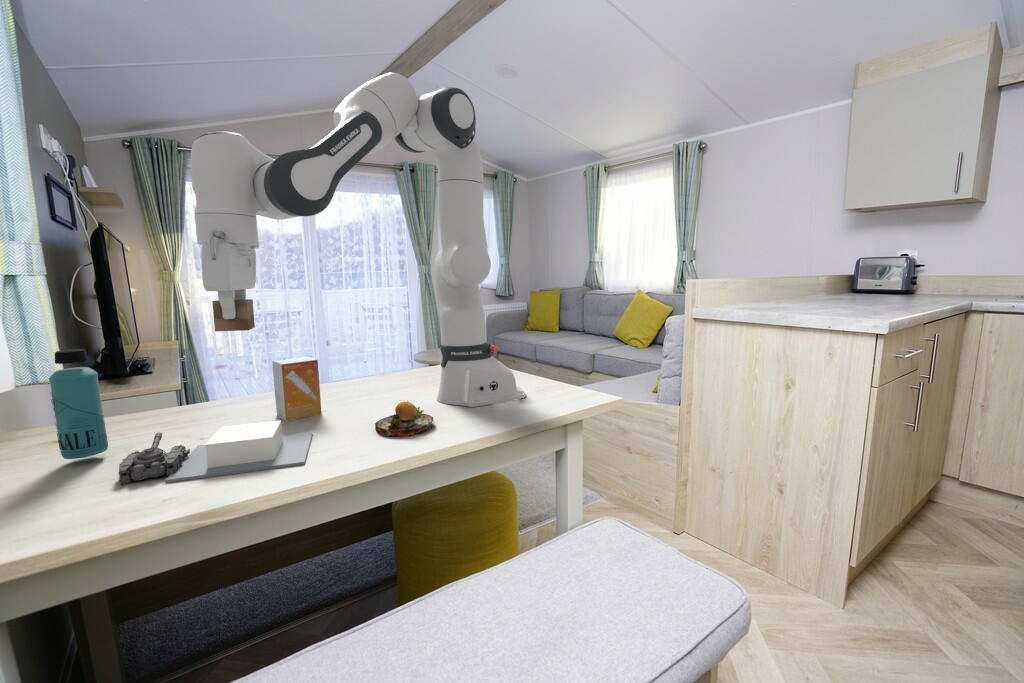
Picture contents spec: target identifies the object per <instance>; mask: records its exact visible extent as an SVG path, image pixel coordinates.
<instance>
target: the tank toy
mask: <svg viewBox="0 0 1024 683" xmlns="http://www.w3.org/2000/svg"><path fill="white" fill-rule="evenodd" d="M162 438H163V433H162V432H161V431H159V432H157V433H155V434H154V438H153V442H152V443H151V447H148V448H146V449H144V450H142V451H139V450H135V451H134V452H131V453H128V454H127V456H126V457H125V458H122V461H121V462H120V463H118V464H119V466H118V475H119V477H118V479H119V481H118V482H119V485H120V486H123V485H128V484H131V483H132V481H131V480H133V481H142V480H146V479H149V478H150V479H151V478H154V479H155V478H160V476H161V477H162V476H165V474H166V477H167V478H168V477H169V476H170V475H171V474H172V473H176V472H177V471H176V470H179V467H182V462H183V461H184V460H185V459H186V457H188V455H189V454H190V453H191V452H190V451H191V448H187V449H186V446H184V445H183V444H180V445H174V446H173V447H171V449H170V451H168V452H166V451H165V450H164V449H162V448H159V445H160V444H161V443H160V442H161V440H162Z"/></svg>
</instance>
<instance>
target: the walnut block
mask: <svg viewBox="0 0 1024 683" xmlns="http://www.w3.org/2000/svg"><path fill="white" fill-rule="evenodd" d="M211 303H212V313H213V326H214V332H233V331H234V332H235V331H236V332H237V331H238V332H239V331H240V332H241V331H250V330H252V329H255V328H256V327H255V325H256V322H255V315H254V312H255V310H254V300H253V298H251V299H250V298H246V299H236V300H235V308H236V309H237V317H236V318H234V319H224V318H223V314H222V307H221V305H220V302H219V299H217V300H212V301H211Z"/></svg>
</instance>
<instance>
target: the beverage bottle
mask: <svg viewBox="0 0 1024 683" xmlns="http://www.w3.org/2000/svg"><path fill="white" fill-rule="evenodd" d="M86 361H88V356H87V352H86V349H85V348H69V349H62V350H58V351H57V350H56V351H55V352H54V364H56V365H59V364H60V365H65V364H74V363H75V364H76V363H81V362H82V363H83V362H86ZM98 376H99V374H98V372H97V371H96V370H95V369H92V368H90V367H88V366H80V367H79V366H78V367H77V366H75V367H69V368H63V369H58V370H56V371H55V372H53V373H52V374H51V375H50V377H48V381H49V384H50V391H49V392H50V395H51V398H52V399H51V405H52V411H53V413H54V417H53V418H54V419H55V423H54V424H55V429H56V431H57V432H56V435H57V442H58V443H57V444H58V448H59V453H60V456H61V457H62V458H63V459H65V460H77V459H78V460H79V459H84V458H88V457H93V456H95V455H99V454H102V453H104V452H106V451H107V450H108V448H109V442H108V440H109V439H108V435H107V430H106V428H107V426H106V422H105V421H106V420H105V417H104V413H103V405H102V398H101V390H100V384H99V379H98V378H99V377H98Z"/></svg>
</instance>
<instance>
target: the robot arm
mask: <svg viewBox="0 0 1024 683" xmlns="http://www.w3.org/2000/svg"><path fill="white" fill-rule="evenodd" d="M475 111H476V110H475V106H474V104H473V101H471V99H470V96H469V95H468V94H467V93H466V92H465V91H464V90H463V89H462V88H459V87H450V86H449V87H442V88H440V89H438V90H436V91H431V92H429V93H425V94H423V95H419V94H418V93H417V90H416V88H415V87H414V85H413V83H412V82H411V81H410V80H409V79H408V78H407V77H406V76H405V75H403V74H401V73H397V72H387V73H384V74H382V75H379V76H377V77H374V78H373V79H371V80H368V81H367V82H365V83H364V84H362V85H360V86H359V87H358V88H356V89H355V90H353V91H352V92H351V93H349V94H348V95H347V96H346V97H345V98H344V99H343V100H342V101H341V103H339V105H338V106H337V107H336V109H335V110H334V112H333V124H334V129H333V130H332V131H331V132H330V133H329V134H328V135H326V136H325V137H324V138H322V139H321V140H320V141H318V142H317V143H316V144H315V145H313V146H312V147H310V148H307V149H306V148H305V149H295V150H291V151H287V152H285V153H282V154H280V155H279V156H278V157H277V158H275V159H274V158H272V157H271V156H269V155H267V154H266V153H264V152H262V151H261V150H260V149H258V148H257V147H255V146H254V144H252V143H251V142H249V141H248V139H247V137H245V136H244V135H242V134H240V133H237V132H233V131H232V132H231V131H213V132H206V133H204V134H202V135H200V136H198V137H197V138H196V139H194V141H193V142H192V144H191V152H190V176H191V187H192V190H193V192H194V195H195V200H196V201H195V202H196V204H195V208H194V219H195V220H194V222H195V230H196V231H195V232H196V244H198V245H201V256H200V257H201V275H202V276H201V279H202V286H203V287H204V290H205V291H206V292H217V300H219V302H220V305H221V307H222V314H223V318H224V319H234V318H236V317H237V309H236V308H235V300H236V299H247V290H251V289H254V288H255V287H256V281H257V280H256V278H257V277H256V276H257V252H256V249H259V247H260V246H259V245H260V243H259V242H260V241H259V234H258V221H257V220H258V219H257V216H259V217H266V218H269V219H272V220H277V221H278V220H288V219H295V218H298V217H312V216H315V215H318V214H320V213H323V211H325V210H326V209H327V207H329V205H330V203H331V201H332V200H333V198H334V195H335V192H336V189H337V188H338V186H339V183H340V181H341V180H342V179H343V177H344V176H346V174H347V173H348V172H349V171H350V170H352V169H353V168H354V167H355V166H356V165H357V164H358V163H359V162H360V161H361V160H362V159H363V158H365V157H366V156H370V155H372V154H374V153H376V152H378V151H380V150H381V149H383V148H384V147H386V146H387V145H388V144H390V143H391V142H392V141H393V140H395V141H396V142H397V144H398V145H399V146H400V147H401V148H402V149H403V150H405V151H407V152H410V153H415V154H416V153H417V154H418V153H419V154H420V153H424V152H426V151H427V152H428V151H433V152H434V154H435V157H436V160H437V181H436V182H437V184H436V185H437V219H438V224H439V233H440V234H439V235H440V241H441V249H440V250H439V251H438V253H437V254H436V256H435V259H434V263H433V264H434V265H433V266H434V268H433V269H434V278H435V287H436V294H437V301H438V302H437V303H438V307H439V308H438V309H439V318H440V319H439V321H440V322H439V323H440V324H439V325H440V344H439V349H438V350H439V364H440V367H441V370H440V380H439V381H440V382H439V387H438V388H439V389H438V393H437V396H436V400H437V401H438V402H440V403H442V404H446V405H454V406H455V405H456V406H463V407H468V408H476V407H481V406H487V405H494V404H501V403H506V402H511V401H510V400H512V401H516V400H515V399H518V400H522V399H521V398H523V399H525V398H526V391H525V390H524V389H523V388H522V387H519V386H517V381H516V378H515V375H514V372H513V371H512V369H511V368H509V367H508V366H506V364H505V365H504V363H502V362H501V361H500V360H498V359H497V358H495V357H494V356H493V355H494V354H497V353H498V352H499V351H500V350H499V347H498V346H497V345H495V344H490V343H488V342H486V330H485V328H486V327H485V322H486V321H485V311H484V310H485V309H484V307H483V304H482V298H481V292H480V288H479V287H480V284H482V283H483V282H484V281H485V280H486V278H487V277H488V276H489V274H490V271H491V268H492V267H491V264H492V263H491V258H490V256H489V251H488V243H487V242H488V241H487V234H486V228H485V221H484V220H485V219H484V167H483V166H484V165H483V159H482V158H483V157H482V153H481V149H480V146H479V143H478V142H477V140H475V136H476V131H477V130H476V126H477V124H476V123H477V121H476V120H477V118H476V112H475ZM524 397H525V398H524Z"/></svg>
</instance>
